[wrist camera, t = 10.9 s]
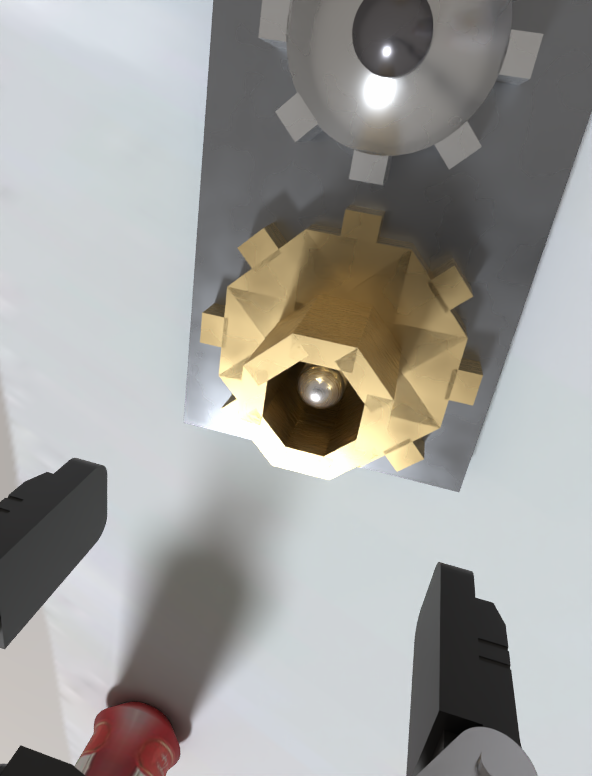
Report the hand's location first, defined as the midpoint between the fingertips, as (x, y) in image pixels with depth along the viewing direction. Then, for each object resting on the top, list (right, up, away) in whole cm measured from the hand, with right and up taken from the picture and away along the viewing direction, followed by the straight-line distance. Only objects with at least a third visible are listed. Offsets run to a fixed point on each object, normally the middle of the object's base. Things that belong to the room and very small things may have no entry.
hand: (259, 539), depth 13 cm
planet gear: (+3, +5, +12) cm, 13 cm away
